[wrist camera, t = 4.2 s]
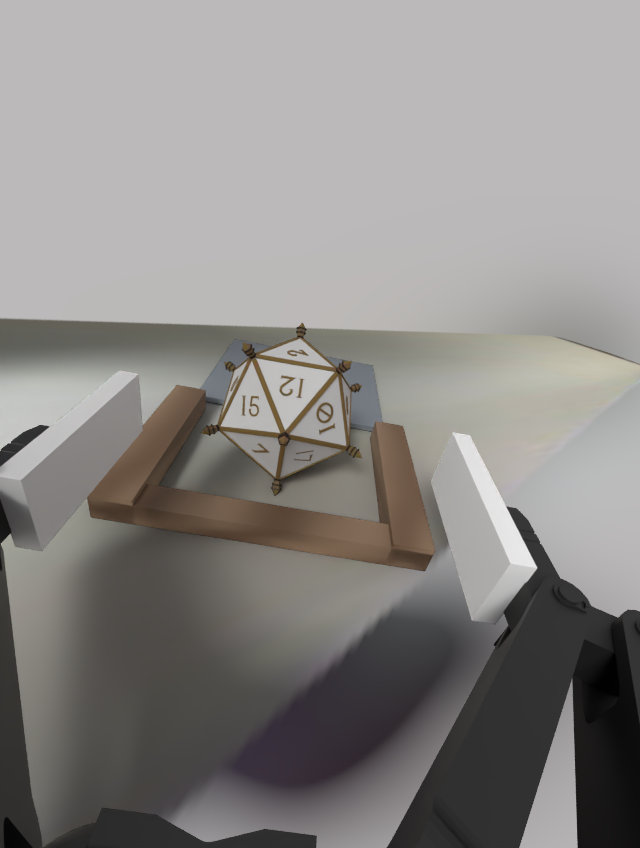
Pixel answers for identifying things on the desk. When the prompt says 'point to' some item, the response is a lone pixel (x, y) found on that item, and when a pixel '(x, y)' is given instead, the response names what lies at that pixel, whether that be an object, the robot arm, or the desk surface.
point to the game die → (287, 408)
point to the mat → (363, 401)
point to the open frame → (257, 522)
